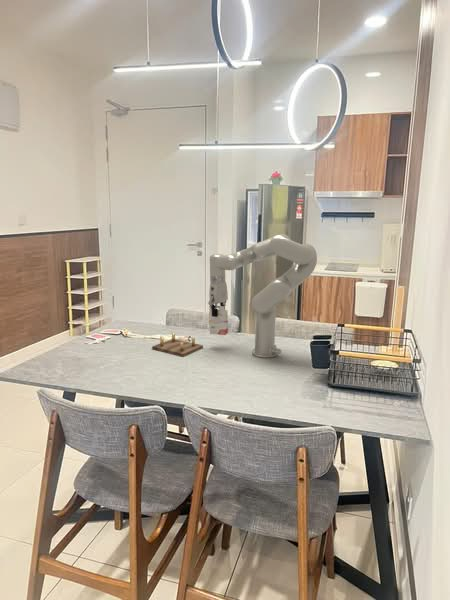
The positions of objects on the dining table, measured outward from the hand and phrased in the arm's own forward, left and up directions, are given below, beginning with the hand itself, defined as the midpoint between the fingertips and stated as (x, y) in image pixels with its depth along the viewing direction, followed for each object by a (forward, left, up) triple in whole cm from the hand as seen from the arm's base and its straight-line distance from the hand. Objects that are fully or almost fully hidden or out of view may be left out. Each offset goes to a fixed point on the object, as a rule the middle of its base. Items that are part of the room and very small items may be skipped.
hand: (218, 314), depth 213 cm
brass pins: (+17, +12, -16) cm, 26 cm away
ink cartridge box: (0, 0, -10) cm, 10 cm away
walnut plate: (+17, +12, -18) cm, 27 cm away
